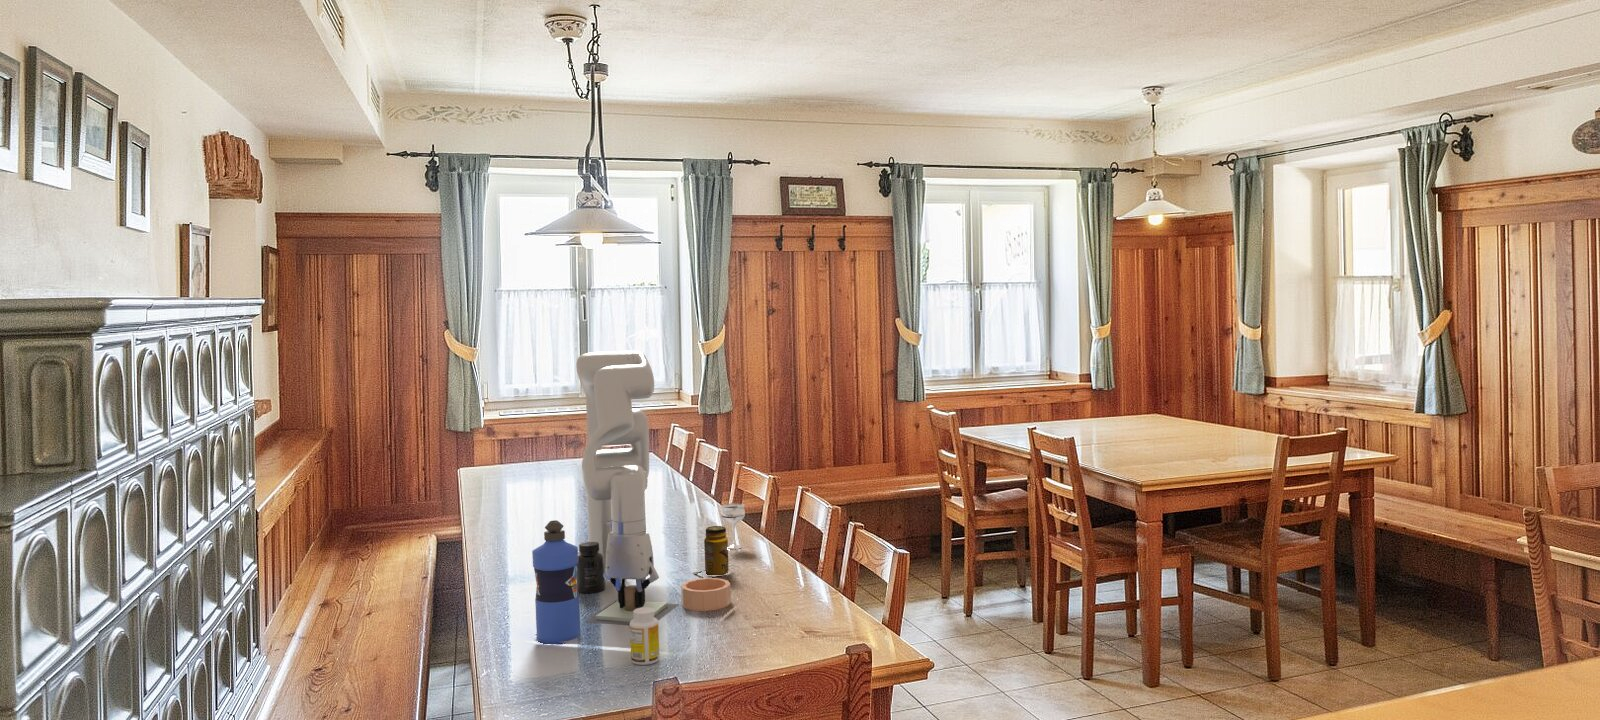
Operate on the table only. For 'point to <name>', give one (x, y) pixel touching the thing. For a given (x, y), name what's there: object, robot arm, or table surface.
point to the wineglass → (733, 517)
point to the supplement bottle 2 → (644, 637)
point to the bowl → (706, 594)
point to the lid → (628, 607)
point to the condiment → (716, 551)
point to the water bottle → (556, 587)
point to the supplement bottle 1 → (590, 569)
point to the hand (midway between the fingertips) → (631, 606)
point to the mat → (657, 616)
